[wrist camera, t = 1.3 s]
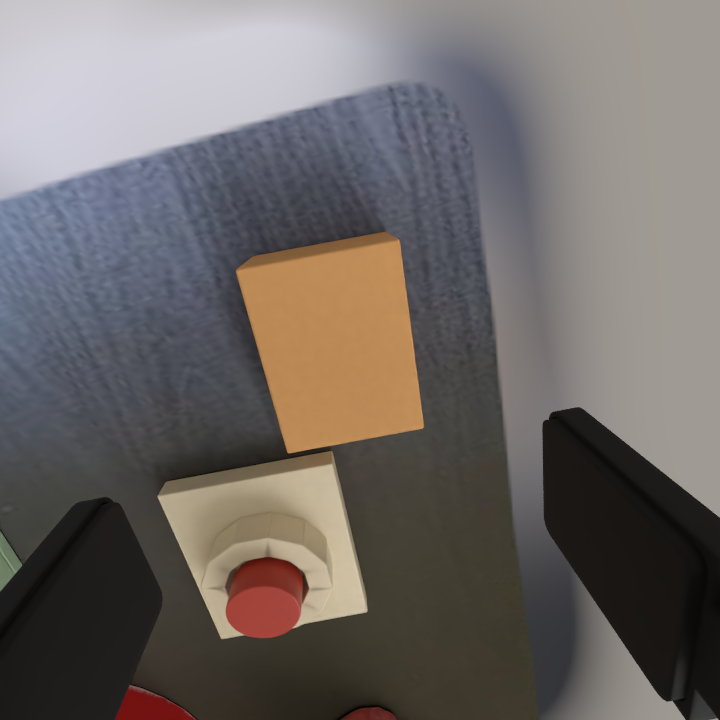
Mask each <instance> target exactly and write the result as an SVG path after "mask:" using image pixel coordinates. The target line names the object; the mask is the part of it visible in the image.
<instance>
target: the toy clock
mask: <svg viewBox="0 0 720 720" xmlns="http://www.w3.org/2000/svg"><path fill="white" fill-rule="evenodd" d="M115 720H196V719H195V718H194V717H193V716H191V715H190V714H189V713H188V712H187V711H185V710H184V709H183V708H181V707H179V706H178V705H176V704H174V703H173V702H171V701H169V700H167V699H166V698H164V697H161V696H159V695H157V694H154V693H152V692H150V691H147V690H145V689H142V688H139V687H136V686H132V685H129V688H128V690H127V693H126V695H125V697H124V700H123V702H122V705H121V707H120V709H119V712H118V714H117V717H116V719H115Z"/></svg>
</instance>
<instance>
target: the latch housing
mask: <svg viewBox="0 0 720 720" xmlns="http://www.w3.org/2000/svg"><path fill="white" fill-rule="evenodd" d="M158 499H159V501H160V503H161V505H162V508H163V510H164V512H165V514H166V516H167V519H168V521H169V523H170V525H171V528H172V530H173V532H174V534H175V537H176V539H177V541H178V543H179V545H180V548H181V550H182V552H183V554H184V557H185V559H186V561H187V563H188V566H189V568H190V570H191V572H192V574H193V577H194V579H195V581H196V583H197V586H198V588H199V590H200V592H201V595H202V597H203V599H204V601H205V603H206V606H207V608H208V610H209V612H210V615H211V617H212V619H213V621H214V624H215V626H216V628H217V630H218V632H219V635H220V637H221V639H226V638H231V637H237V636H242V635H244V634H242V633H240V632H238V631H237V630H235V629H234V628H233V627H232V626H231V625H230V624H229V622H228V620H227V617H226V605H227V601H228V597H229V593H230V589H231V585H232V581H233V577H234V575H235V573H236V571H237V570H238V569H239V568H240V567H241V566H242V565H243V564H244V563H246V562H248V561H250V560H253V559H258V558H263V557H273V558H277V559H282V560H286V561H288V562H290V563H292V564H293V565H294V566H295V567H296V568H297V569H298V570H299V571H300V573H301V575H302V579H303V591H302V606H301V616H300V619H299V620H298V622H297V624H296V625H295V626H294V627H293V628H296V627H298V626H300V625H302V624H306V623H311V622H317V621H322V620H327V619H333V618H338V617H344V616H349V615H354V614H360V613H365V612H367V611H368V610H367V599H366V592H365V588H364V584H363V580H362V575H361V571H360V567H359V563H358V558H357V554H356V550H355V545H354V541H353V537H352V533H351V528H350V524H349V520H348V516H347V511H346V507H345V503H344V499H343V494H342V490H341V486H340V481H339V477H338V473H337V469H336V464H335V460H334V456H333V452H332V451H328V452H322V453H317V454H312V455H306V456H301V457H296V458H290V459H285V460H280V461H274V462H269V463H263V464H258V465H253V466H247V467H242V468H237V469H231V470H226V471H220V472H215V473H210V474H204V475H199V476H194V477H188V478H183V479H178V480H172V481H167V482H165V484H164V486H163V488H162V489H161V491H160V493H159V495H158Z"/></svg>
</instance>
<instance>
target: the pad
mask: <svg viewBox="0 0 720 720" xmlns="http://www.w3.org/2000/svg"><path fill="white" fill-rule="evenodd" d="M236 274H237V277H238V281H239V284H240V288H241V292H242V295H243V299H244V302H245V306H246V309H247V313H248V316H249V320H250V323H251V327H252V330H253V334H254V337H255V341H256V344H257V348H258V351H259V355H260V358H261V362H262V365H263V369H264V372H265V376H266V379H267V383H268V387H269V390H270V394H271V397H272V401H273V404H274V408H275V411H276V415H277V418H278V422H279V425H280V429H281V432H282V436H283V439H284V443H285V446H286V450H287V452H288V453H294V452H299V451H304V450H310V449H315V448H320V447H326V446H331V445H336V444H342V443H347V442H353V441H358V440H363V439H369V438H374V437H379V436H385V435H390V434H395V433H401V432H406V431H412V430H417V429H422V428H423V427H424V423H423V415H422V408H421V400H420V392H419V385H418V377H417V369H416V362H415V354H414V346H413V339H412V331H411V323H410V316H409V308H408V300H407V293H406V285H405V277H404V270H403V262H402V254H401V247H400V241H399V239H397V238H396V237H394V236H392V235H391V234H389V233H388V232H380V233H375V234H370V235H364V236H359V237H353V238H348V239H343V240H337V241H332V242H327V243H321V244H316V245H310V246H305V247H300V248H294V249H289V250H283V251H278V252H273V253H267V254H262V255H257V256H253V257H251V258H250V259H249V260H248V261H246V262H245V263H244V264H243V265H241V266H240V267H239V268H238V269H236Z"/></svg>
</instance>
